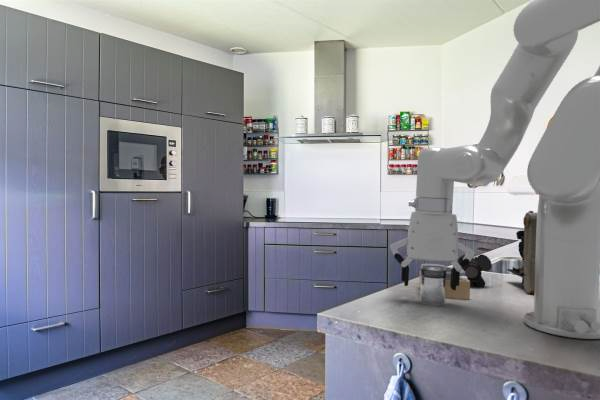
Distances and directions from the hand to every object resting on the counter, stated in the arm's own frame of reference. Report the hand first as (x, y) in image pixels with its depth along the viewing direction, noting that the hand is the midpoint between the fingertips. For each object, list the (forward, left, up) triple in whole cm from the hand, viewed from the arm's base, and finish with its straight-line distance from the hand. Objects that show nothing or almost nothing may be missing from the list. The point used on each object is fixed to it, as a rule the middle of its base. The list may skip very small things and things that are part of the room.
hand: (429, 286), depth 89 cm
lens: (0, -1, -3) cm, 4 cm away
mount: (+10, -4, -3) cm, 11 cm away
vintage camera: (+22, -28, -4) cm, 36 cm away
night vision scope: (+26, -13, -4) cm, 29 cm away
